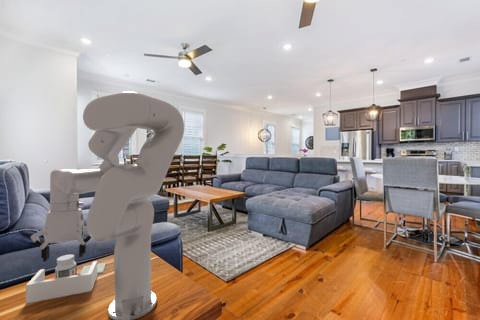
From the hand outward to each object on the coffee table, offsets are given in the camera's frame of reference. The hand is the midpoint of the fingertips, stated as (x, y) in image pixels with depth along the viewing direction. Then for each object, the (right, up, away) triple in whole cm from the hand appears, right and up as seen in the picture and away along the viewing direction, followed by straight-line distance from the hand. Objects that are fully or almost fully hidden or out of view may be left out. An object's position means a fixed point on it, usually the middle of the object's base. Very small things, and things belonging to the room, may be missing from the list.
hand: (64, 257), depth 76 cm
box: (+1, -10, -1) cm, 10 cm away
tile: (+3, -10, +11) cm, 15 cm away
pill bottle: (+1, -10, 0) cm, 10 cm away
